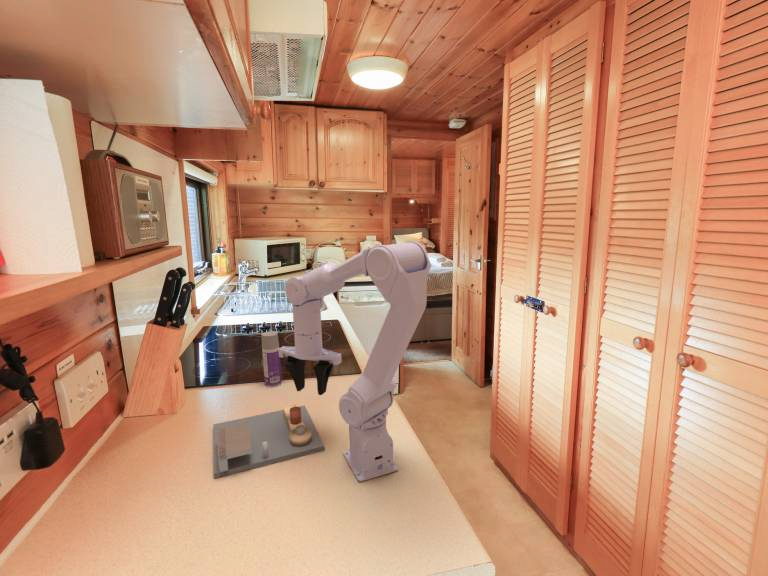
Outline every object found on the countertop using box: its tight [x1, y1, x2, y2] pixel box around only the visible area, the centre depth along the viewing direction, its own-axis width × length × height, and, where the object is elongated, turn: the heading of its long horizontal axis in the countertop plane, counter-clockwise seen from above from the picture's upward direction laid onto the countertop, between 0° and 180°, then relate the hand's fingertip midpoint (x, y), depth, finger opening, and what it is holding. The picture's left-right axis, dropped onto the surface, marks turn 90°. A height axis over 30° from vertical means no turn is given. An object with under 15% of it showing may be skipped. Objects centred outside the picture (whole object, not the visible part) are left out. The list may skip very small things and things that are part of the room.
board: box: [212, 405, 326, 479], centre depth 85 cm, size 19×21×4 cm
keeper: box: [217, 423, 252, 478], centre depth 79 cm, size 10×6×4 cm, turn 23°
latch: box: [282, 404, 312, 446], centre depth 87 cm, size 15×5×4 cm, turn 23°
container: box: [260, 330, 283, 388], centre depth 112 cm, size 5×5×15 cm
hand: (311, 391), depth 86 cm, fingers open, 5 cm apart
